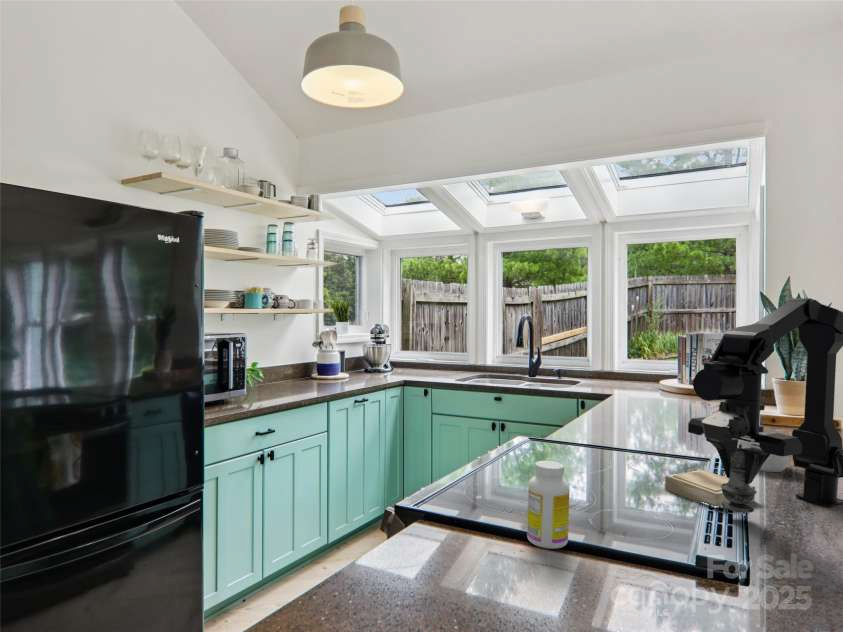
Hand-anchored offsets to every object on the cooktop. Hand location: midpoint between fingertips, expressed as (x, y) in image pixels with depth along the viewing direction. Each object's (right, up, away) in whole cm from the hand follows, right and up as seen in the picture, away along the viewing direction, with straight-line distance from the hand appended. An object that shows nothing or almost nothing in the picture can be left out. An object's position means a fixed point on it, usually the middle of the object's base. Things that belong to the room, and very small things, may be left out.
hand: (738, 480), depth 103 cm
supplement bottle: (-39, -7, -12) cm, 41 cm away
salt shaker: (0, -5, 0) cm, 5 cm away
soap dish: (+1, -7, +13) cm, 15 cm away
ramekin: (+26, -8, +37) cm, 46 cm away
